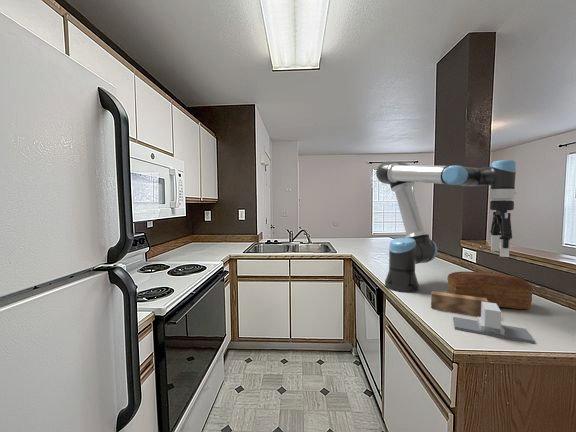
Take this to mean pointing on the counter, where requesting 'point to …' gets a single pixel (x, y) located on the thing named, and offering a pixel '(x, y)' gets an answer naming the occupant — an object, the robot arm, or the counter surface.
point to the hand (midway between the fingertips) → (499, 253)
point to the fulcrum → (492, 325)
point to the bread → (492, 288)
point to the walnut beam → (457, 303)
